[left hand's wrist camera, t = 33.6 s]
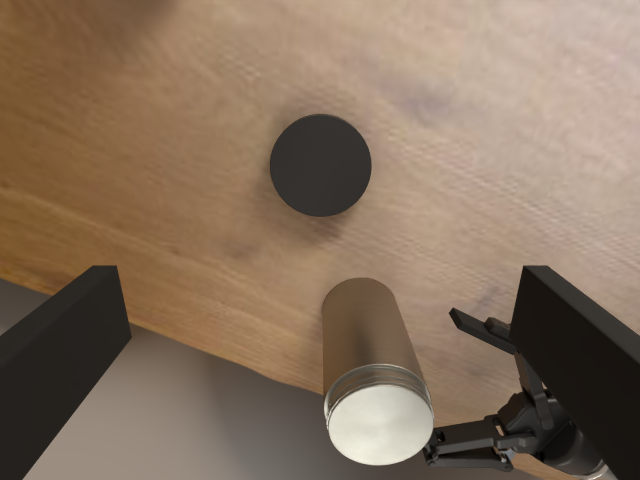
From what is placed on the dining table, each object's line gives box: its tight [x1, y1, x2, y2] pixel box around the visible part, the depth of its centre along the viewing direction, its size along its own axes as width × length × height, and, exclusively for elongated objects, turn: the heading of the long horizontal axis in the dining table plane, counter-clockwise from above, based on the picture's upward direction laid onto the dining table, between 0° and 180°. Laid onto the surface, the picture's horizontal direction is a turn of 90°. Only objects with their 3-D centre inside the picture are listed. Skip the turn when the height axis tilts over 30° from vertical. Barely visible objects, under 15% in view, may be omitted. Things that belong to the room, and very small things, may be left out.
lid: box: [270, 114, 371, 217], centre depth 37 cm, size 10×10×2 cm
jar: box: [323, 278, 435, 465], centre depth 37 cm, size 9×9×17 cm
